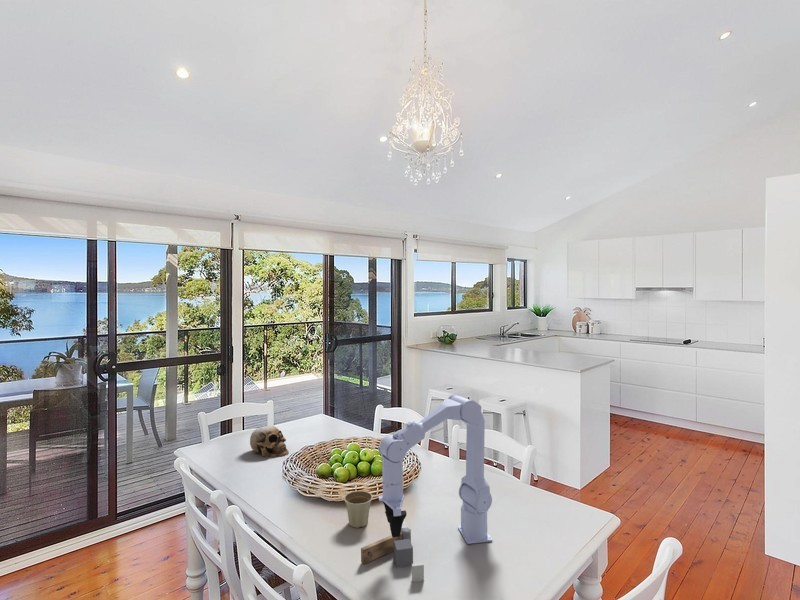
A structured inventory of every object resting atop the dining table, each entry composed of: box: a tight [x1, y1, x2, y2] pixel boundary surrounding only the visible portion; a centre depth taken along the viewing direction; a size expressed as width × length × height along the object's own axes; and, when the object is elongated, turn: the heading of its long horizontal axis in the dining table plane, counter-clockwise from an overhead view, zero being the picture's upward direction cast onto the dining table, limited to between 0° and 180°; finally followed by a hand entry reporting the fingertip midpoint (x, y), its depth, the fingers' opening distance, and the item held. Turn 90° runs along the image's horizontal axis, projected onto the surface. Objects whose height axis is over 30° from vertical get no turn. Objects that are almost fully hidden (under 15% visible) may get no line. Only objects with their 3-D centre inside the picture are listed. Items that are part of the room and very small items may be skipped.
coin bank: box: [249, 425, 290, 458], centre depth 207 cm, size 16×17×13 cm
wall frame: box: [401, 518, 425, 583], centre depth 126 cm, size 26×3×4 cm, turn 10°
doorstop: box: [393, 539, 414, 568], centre depth 121 cm, size 4×4×5 cm
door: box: [360, 533, 402, 565], centre depth 124 cm, size 14×2×4 cm, turn 126°
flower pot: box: [343, 490, 374, 528], centre depth 142 cm, size 9×9×9 cm
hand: (393, 528), depth 121 cm, fingers open, 7 cm apart
